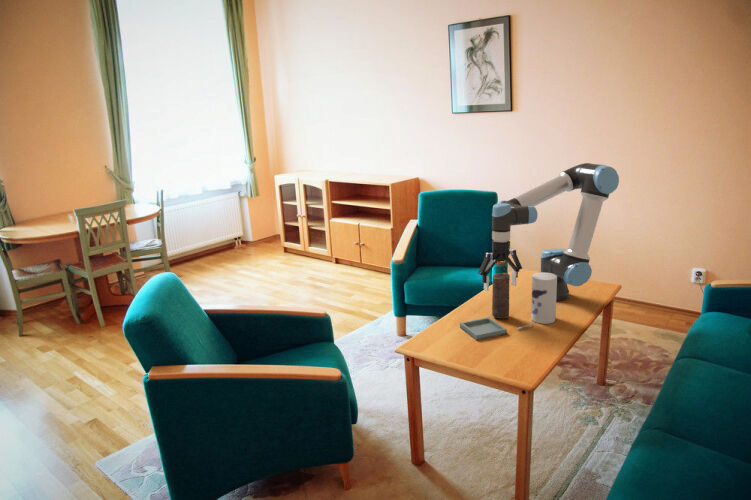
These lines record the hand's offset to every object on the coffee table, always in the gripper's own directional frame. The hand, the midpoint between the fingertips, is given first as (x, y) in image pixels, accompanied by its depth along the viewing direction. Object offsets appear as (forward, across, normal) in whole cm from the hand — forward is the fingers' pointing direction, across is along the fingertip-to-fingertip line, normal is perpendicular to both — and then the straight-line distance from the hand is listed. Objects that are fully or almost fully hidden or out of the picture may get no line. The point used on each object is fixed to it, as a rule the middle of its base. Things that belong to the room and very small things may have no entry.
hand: (500, 287), depth 228 cm
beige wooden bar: (+14, -4, +14) cm, 20 cm away
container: (+14, -16, +10) cm, 23 cm away
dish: (+14, +13, +9) cm, 21 cm away
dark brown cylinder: (+14, -1, 0) cm, 14 cm away
